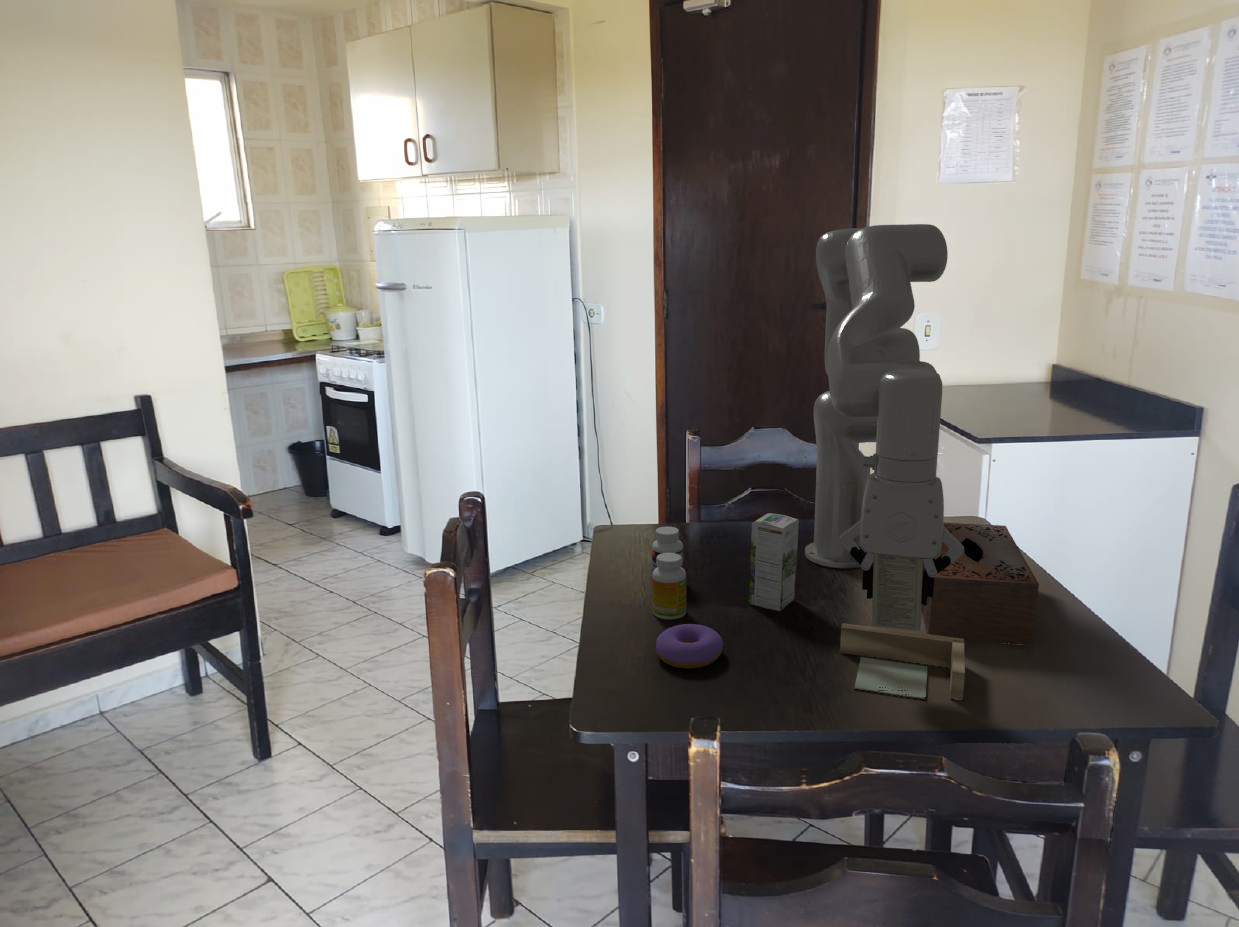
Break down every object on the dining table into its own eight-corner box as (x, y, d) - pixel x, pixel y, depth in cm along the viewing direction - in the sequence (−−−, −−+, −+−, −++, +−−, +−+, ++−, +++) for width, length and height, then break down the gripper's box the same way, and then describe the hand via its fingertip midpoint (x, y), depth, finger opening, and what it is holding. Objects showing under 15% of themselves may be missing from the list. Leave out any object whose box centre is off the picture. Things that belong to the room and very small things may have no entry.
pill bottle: (646, 581, 154) (645, 529, 151) (669, 574, 157) (669, 522, 154) (665, 591, 150) (665, 537, 147) (689, 583, 153) (689, 530, 150)
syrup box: (764, 592, 148) (765, 511, 144) (796, 600, 145) (799, 517, 141) (748, 604, 144) (749, 521, 140) (781, 613, 140) (784, 527, 137)
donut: (686, 678, 120) (680, 644, 120) (645, 666, 128) (640, 634, 127) (738, 656, 126) (734, 624, 125) (697, 646, 134) (692, 615, 133)
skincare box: (921, 619, 118) (927, 533, 115) (920, 632, 114) (926, 544, 111) (871, 613, 120) (876, 528, 117) (868, 626, 116) (873, 539, 113)
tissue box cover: (1031, 647, 128) (1039, 584, 125) (927, 639, 131) (932, 577, 128) (1000, 580, 152) (1005, 525, 149) (912, 574, 155) (916, 521, 153)
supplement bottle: (683, 621, 138) (683, 564, 136) (650, 619, 139) (649, 562, 137) (688, 607, 143) (688, 551, 141) (655, 605, 144) (655, 550, 142)
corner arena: (841, 648, 128) (842, 623, 127) (961, 664, 123) (963, 638, 122) (831, 686, 118) (832, 659, 117) (962, 706, 112) (965, 678, 111)
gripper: (832, 470, 111) (827, 601, 116) (979, 480, 105) (967, 618, 110) (839, 456, 118) (833, 580, 123) (977, 465, 112) (966, 595, 117)
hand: (897, 597), depth 116 cm, fingers closed on skincare box, 6 cm apart
